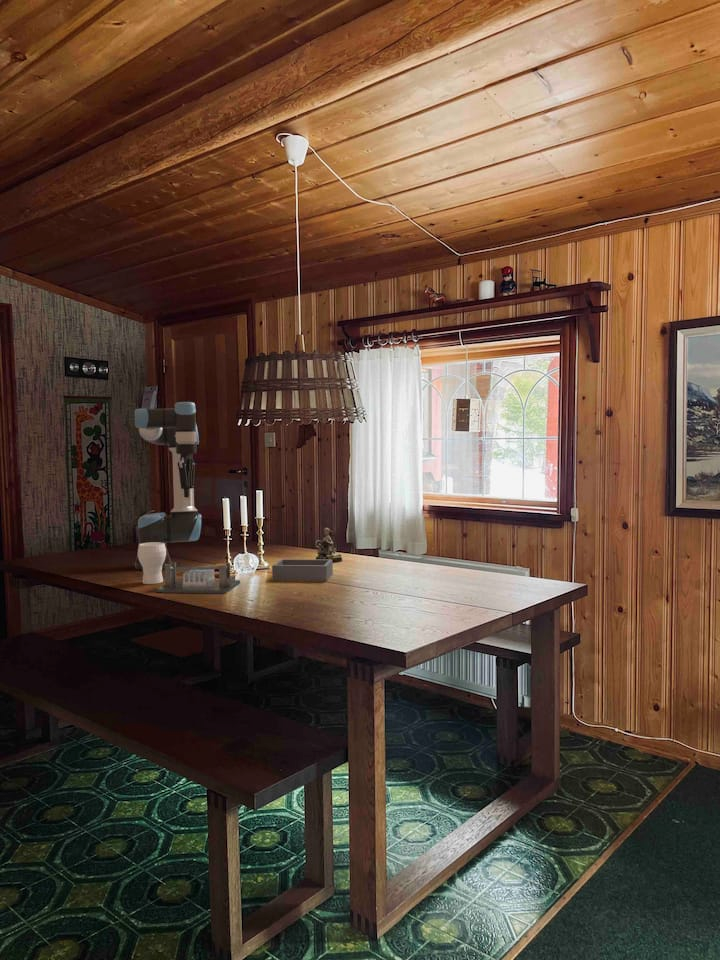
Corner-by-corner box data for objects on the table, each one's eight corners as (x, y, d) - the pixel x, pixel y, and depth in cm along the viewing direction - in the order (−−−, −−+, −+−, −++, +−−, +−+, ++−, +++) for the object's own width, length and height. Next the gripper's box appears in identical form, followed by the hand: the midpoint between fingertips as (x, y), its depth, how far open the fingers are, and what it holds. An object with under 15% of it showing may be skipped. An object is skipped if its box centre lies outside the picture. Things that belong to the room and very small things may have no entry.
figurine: (311, 562, 323) (310, 529, 322) (322, 558, 333) (321, 526, 332) (335, 564, 318) (335, 530, 317) (345, 560, 328) (345, 527, 327)
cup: (159, 585, 277) (157, 546, 277) (133, 584, 280) (132, 545, 279) (171, 579, 288) (170, 542, 287) (146, 579, 290) (145, 541, 289)
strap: (166, 572, 272) (166, 567, 272) (169, 570, 275) (169, 565, 275) (226, 570, 269) (225, 564, 269) (228, 568, 272) (228, 563, 272)
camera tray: (281, 574, 298) (280, 559, 297) (332, 575, 295) (332, 559, 295) (272, 582, 284) (272, 565, 283) (326, 582, 281) (326, 566, 280)
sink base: (156, 592, 265) (155, 567, 264) (175, 582, 283) (174, 559, 282) (225, 593, 261) (224, 568, 261) (240, 583, 279) (239, 559, 279)
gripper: (183, 443, 280) (184, 504, 282) (169, 443, 267) (171, 507, 269) (201, 442, 279) (203, 504, 281) (189, 443, 266) (191, 507, 268)
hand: (188, 505), depth 275 cm, fingers closed
